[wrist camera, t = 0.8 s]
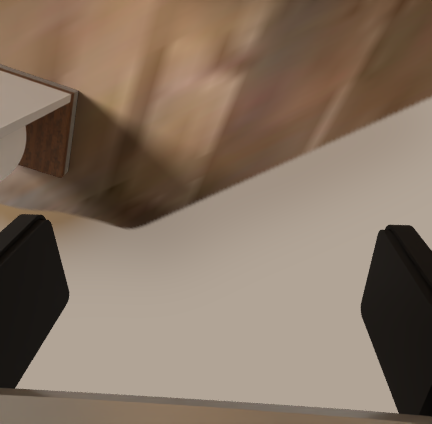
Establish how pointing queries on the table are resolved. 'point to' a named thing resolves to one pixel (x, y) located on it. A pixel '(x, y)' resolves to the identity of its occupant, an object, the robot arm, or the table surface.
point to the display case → (35, 123)
